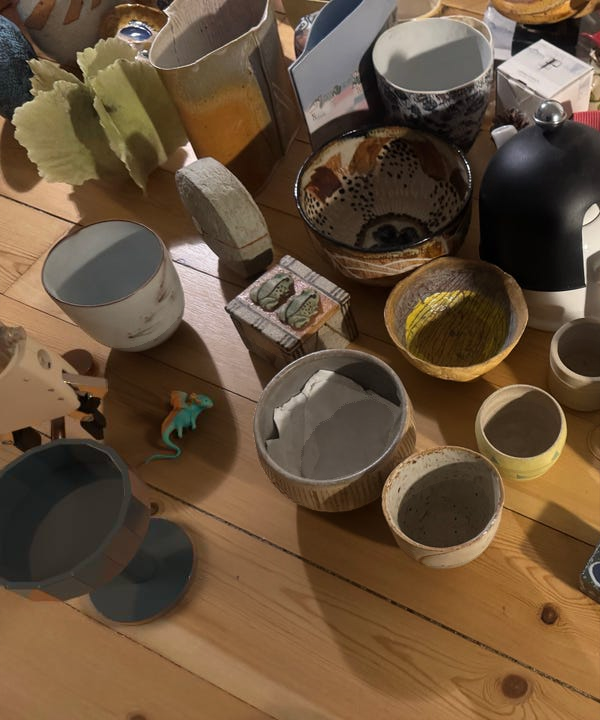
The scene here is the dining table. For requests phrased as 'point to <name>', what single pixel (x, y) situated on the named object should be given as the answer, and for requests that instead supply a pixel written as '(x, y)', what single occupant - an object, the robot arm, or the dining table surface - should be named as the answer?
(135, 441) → the dining table surface
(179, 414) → the dragon figurine
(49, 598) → the bowl
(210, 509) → the dining table surface
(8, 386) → the robot arm
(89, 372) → the ladle
